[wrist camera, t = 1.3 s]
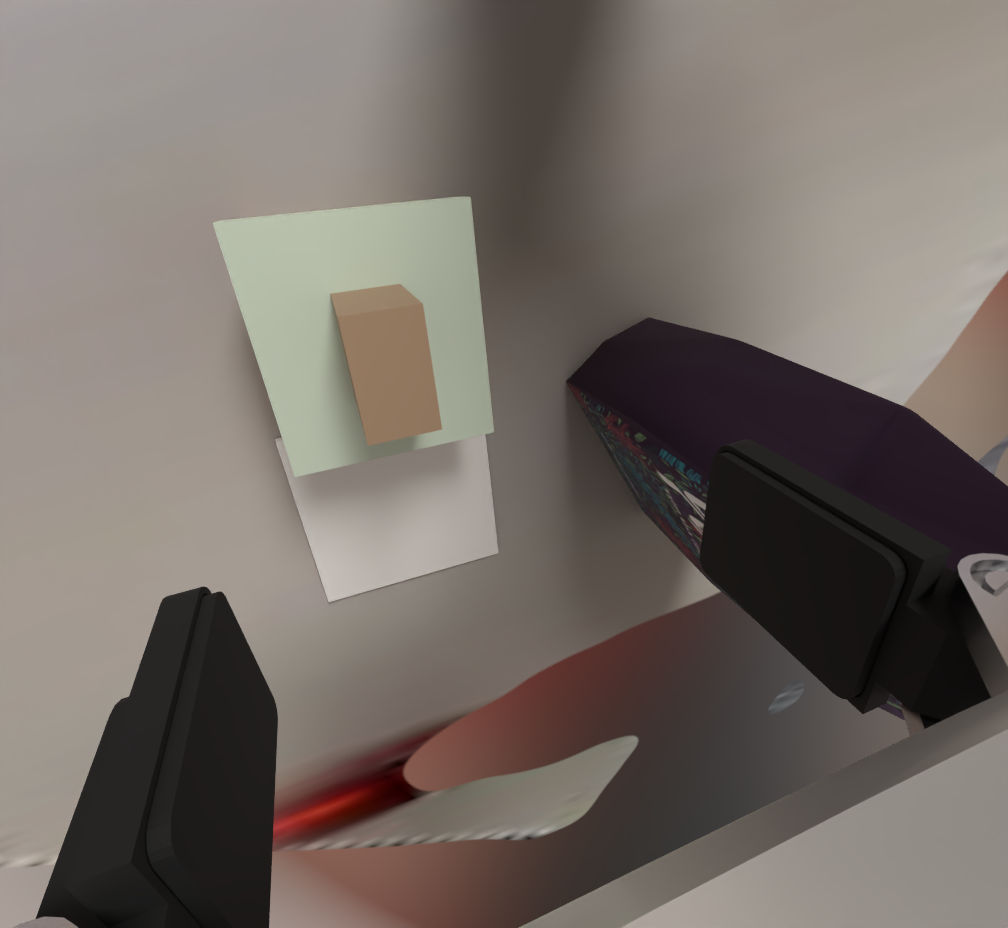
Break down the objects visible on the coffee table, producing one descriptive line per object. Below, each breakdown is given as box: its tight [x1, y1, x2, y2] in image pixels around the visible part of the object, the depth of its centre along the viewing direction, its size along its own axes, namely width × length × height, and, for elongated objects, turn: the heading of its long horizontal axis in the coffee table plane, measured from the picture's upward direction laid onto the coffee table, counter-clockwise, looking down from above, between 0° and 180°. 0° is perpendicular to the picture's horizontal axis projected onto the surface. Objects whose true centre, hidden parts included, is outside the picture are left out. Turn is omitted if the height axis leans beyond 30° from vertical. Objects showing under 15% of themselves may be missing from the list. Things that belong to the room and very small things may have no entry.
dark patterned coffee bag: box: [567, 318, 1008, 720], centre depth 29 cm, size 8×16×28 cm, turn 33°
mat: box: [275, 434, 498, 602], centre depth 36 cm, size 13×13×1 cm
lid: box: [213, 197, 494, 477], centre depth 22 cm, size 11×10×7 cm
